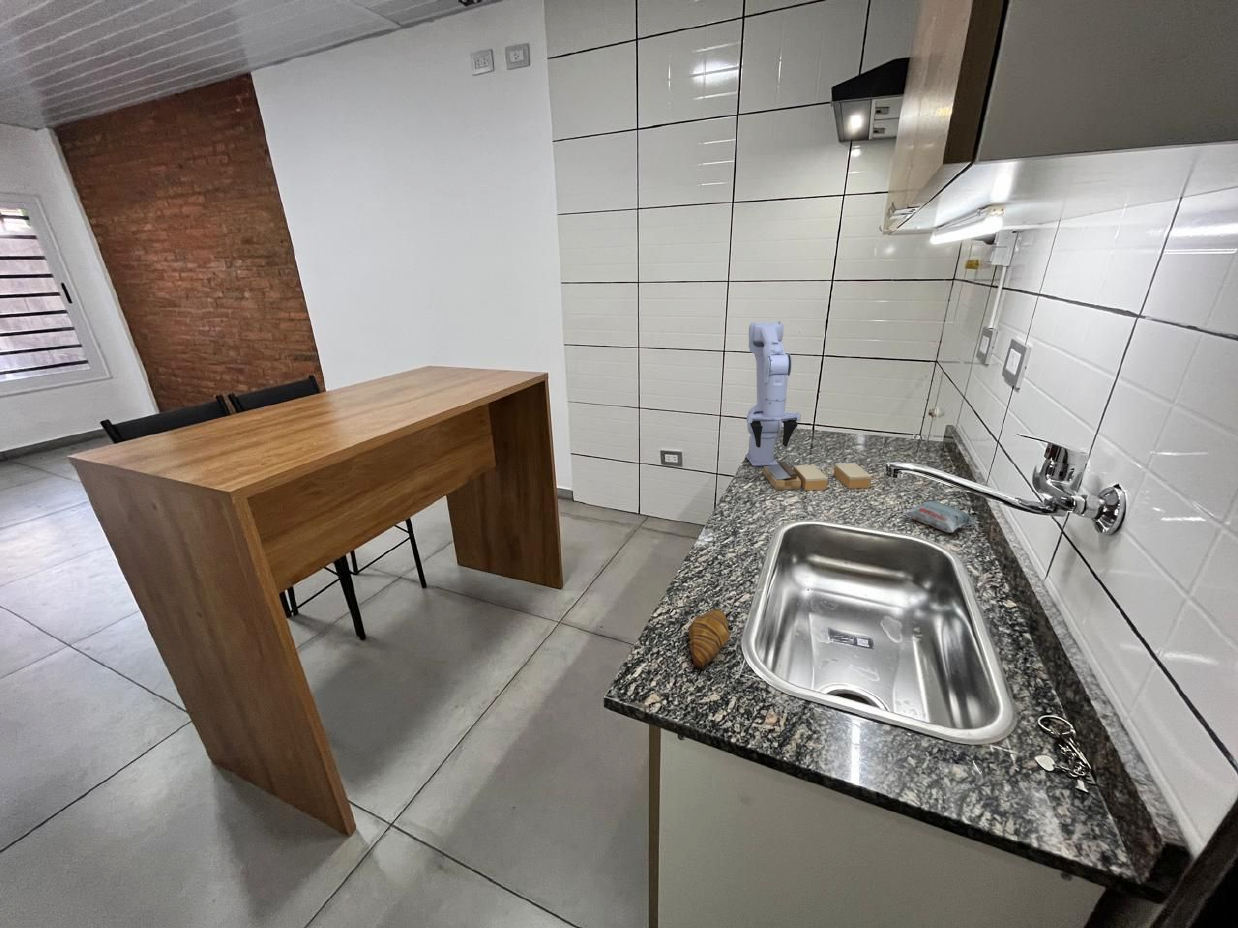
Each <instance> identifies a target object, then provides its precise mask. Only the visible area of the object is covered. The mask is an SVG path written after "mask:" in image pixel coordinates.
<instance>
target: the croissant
mask: <svg viewBox="0 0 1238 928" xmlns="http://www.w3.org/2000/svg"><path fill="white" fill-rule="evenodd" d="M729 625H730V623H729V621H728V619H727V617H726V613H725V612H724V611H723V610H722V609H710V610H709V611H707V612H705V613H703V614H698V615H697V616H696V617H695V619H694V620H693V621H692V622H691V624H690V625H689V626H688V638H689V642H688V647H689V651H690V655H691V659H692V662H693V666H694V668H697V669H699V670H700V669H701V670H702V669H704V668H705V667H707V666H708V665H709V664H710V663H711V662H712V661H713V660H714V659H715V658H716V657H717V655H718V654H719V652H720V650H722V648H723V647H724V646H725V645H726V644H727V642H728V641H729V639H730V629H729Z"/></svg>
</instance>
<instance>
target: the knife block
mask: <svg viewBox="0 0 1238 928" xmlns="http://www.w3.org/2000/svg"><path fill="white" fill-rule="evenodd" d="M762 466H763V467H762V474H763V476H764V477H765V478H766V480H767V481H768V482H769V484H770V485H771V486H772V488H773V489H774V491H785V490H786V491H787V490H801V488H802V486H801V480H800V479H799V478H798V477H797V479H793V480H791V479H790V478H787V479H781V480H776V479H775V478H774V477H773V475H772V474H771V473H770V471H769V470H768V469H767V468H766V466H767V465H762Z"/></svg>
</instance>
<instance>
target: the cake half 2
mask: <svg viewBox="0 0 1238 928" xmlns="http://www.w3.org/2000/svg"><path fill="white" fill-rule="evenodd" d="M832 475H833V476H834V477H835V478H836V479H837V480H838V481H839V482H841V483H842V484H843V486H845V488H847V489H848V490H850V489H851V490H852V489H871V486H872V480H873V475H871V474H870V473H869V472H867V471H866V470H865V469H864V468H862V467H861V466H859V464H857V463H856V462H848V463H847V462H846V463H834V467H833V474H832Z"/></svg>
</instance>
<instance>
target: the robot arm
mask: <svg viewBox="0 0 1238 928" xmlns="http://www.w3.org/2000/svg"><path fill="white" fill-rule="evenodd" d="M748 326H749V328H748V348H749V352H750V353H752V355H753V354H754V358H755V361H756V362H755V363H756V404H755V405H754V406H752V407H751V408H749V410H748V412H747V414H746V422H747V426H746V427H747V432H748V433H749V435H750V436H749V437H748V438H749V439H748V452H747V453H745V455H744V456H745V457H746V459H747V460H748V462H749V463H750V464H751V466H752V467H753V466H754V467H755V466H757V467H758V466H760V467H761V466H770V465H776V464H779V462H777V461H776V459H775V447H776V438H778V435H780V433H781V432H782V429H783V432H782V433H783V434H782V446H783V447H785V448H786V447H788V445H789V443H790V440H791V437H792V435H793V433H794V432H795V430H796V429H797V428H798V424H799V423H798V422H801V420H802V419H801V418H802V414H801V413H799V412H786V403H787V402H786V401H787V393H788V380H789V379H788V378H789V377H790V376H791V373H792V366H793V363H792V355H791V354H790V353H787V352H786V350H785V347H784V344H783V343H782V340H783V338H784V324H783V322H782V321H781V320H780V321H768V322H767V321H764V322H761V321H760V322H754V321H752V322H750V324H749V325H748Z"/></svg>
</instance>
